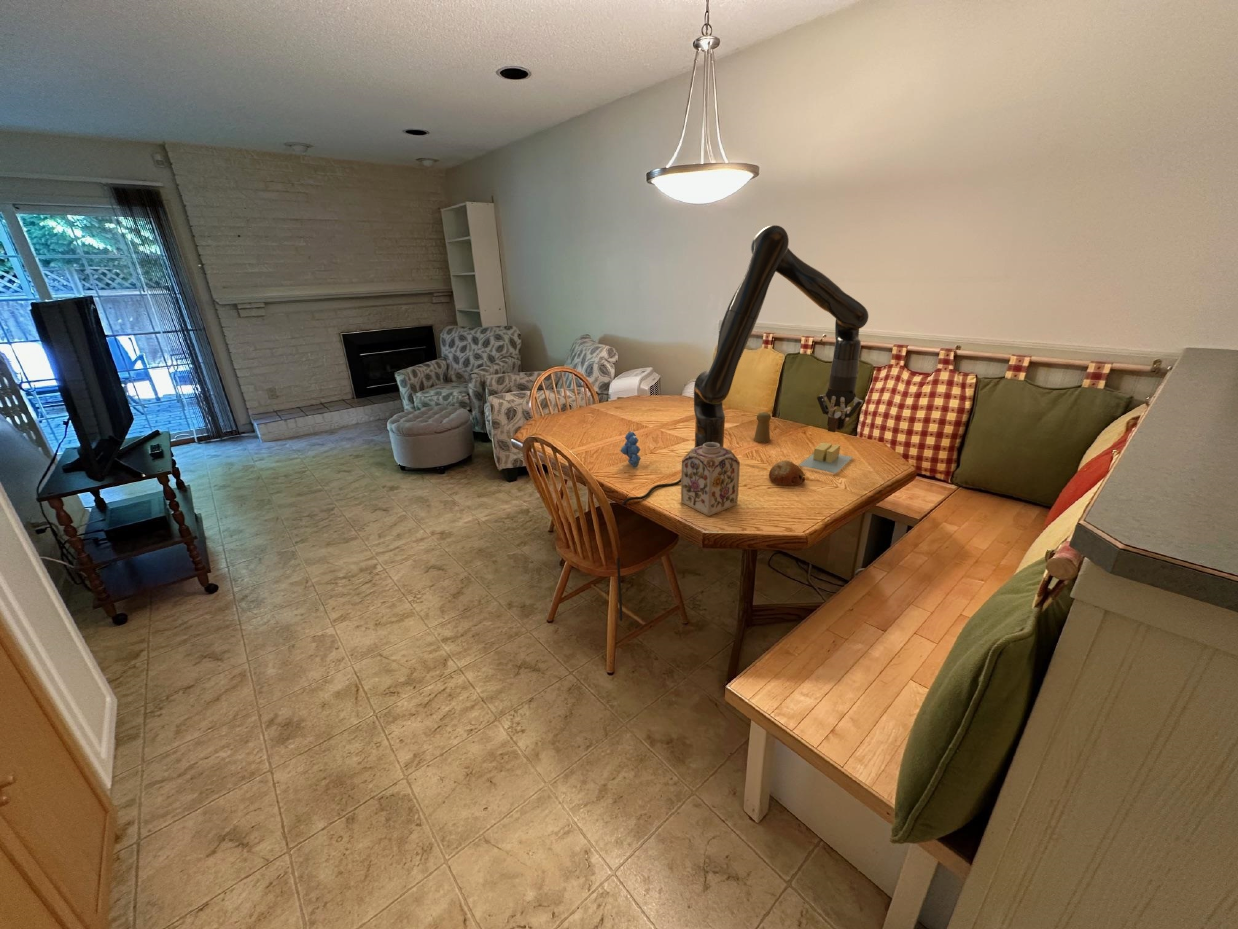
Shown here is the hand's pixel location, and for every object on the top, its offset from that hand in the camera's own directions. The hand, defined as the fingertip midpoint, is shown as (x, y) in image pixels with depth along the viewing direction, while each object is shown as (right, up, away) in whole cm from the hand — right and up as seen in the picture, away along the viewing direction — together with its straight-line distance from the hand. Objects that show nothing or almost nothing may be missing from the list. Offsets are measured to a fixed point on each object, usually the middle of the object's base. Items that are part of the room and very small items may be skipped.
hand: (835, 428), depth 150 cm
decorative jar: (-42, -23, -13) cm, 50 cm away
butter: (+2, -9, +15) cm, 18 cm away
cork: (-12, -2, +37) cm, 39 cm away
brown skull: (-15, -16, 0) cm, 22 cm away
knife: (+3, +1, +3) cm, 4 cm away
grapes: (-64, -12, +16) cm, 67 cm away
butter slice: (+5, -9, +13) cm, 17 cm away
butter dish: (+2, -11, +12) cm, 17 cm away
